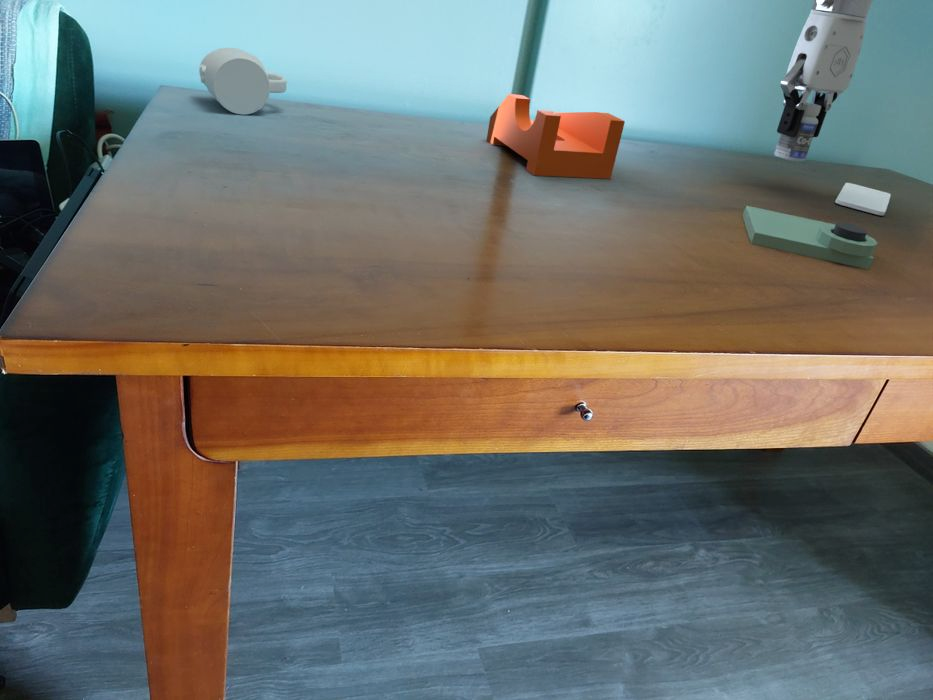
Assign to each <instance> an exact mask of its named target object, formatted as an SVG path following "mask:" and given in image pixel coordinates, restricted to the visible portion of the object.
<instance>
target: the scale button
mask: <svg viewBox="0 0 933 700" xmlns="http://www.w3.org/2000/svg"><path fill="white" fill-rule="evenodd" d="M832 233H833V234H835V235H837V236H839V237H842V238H844V239H848V240H852V241H857V242H863V241H864V239H865V237H866V235H867V234H868V230H867V229H865V228H864V227H862V226H859V225H856V224H853V223H850V222H844V221H843V222H842V221H838V222H836V223H835V228H834V230H833V232H832Z"/></svg>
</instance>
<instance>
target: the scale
mask: <svg viewBox="0 0 933 700" xmlns="http://www.w3.org/2000/svg"><path fill="white" fill-rule="evenodd" d="M742 219H743V223H744V225H745V229H746V231H747V235H748V238H749V242H750V244H751V245H756V246H760V247H765V248H769V249H774V250H778V251H783V252H786V253H791V254H796V255H800V256H801V255H802V256H806V257H809V258H814V259H819V260H823V261H827V262H832V263H837V264H842V265H845V266H846V265H847V266H850V267H855V268H860V269H864V270H870V268H871V266H872V263H873V261H874V259H875V257H874V256H873V255H874V253H875V251H876V249H877V246H878V242H877V240H875V238H874V237H871V236H869V235H867V234H866V237H865V239H864V241H863V242H857V241H852V240H848V239H844V238H842V237H839V236H837V235H835V234H833V233H832V232H833V230H834V228H835V225H836V223H835V224H834V223H830V222H824V221H822V220H821V221H820V220H817V219H816V220H815V219H810V218H807V217H801V216H798V215H791V214H787V213H783V212H778V211H773V210H769V209H764V208H759V207H754V206H750V205H745V208H744V211H743V214H742Z"/></svg>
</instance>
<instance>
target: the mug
mask: <svg viewBox="0 0 933 700" xmlns="http://www.w3.org/2000/svg"><path fill="white" fill-rule="evenodd" d="M198 73H199V77H200V83H201V84H203V85H204V86H205V87H206V89H207V90H208V92H209V94H210V95H211V96H212V97H213V98H214V99H215V100H216V101H217V102H218V103H219V105H221V106H222V107H223V108H224V109H225V110H227V111H229V112H230V113H233V114H236V115H244V116H245V115H250V114H254V113H256V112H258V111H259V110H261V109H262V108H263V107H264V106H265V104H266V103H267V101H268V99H269V97H270V94H283V93H285V92H286V91H287V83H288V82H287V78H286V77H285V76H283V75H281V74H279V73H275V72H270V71H266V69H265V67H264V65H263V63H262V61H261V60H260V59H259V58H258V57H257V56H255V55H253V54H252V53H249V52H247V51H245V50H243V49H240V48H235V47H222V48H217V49H214V50H212V51H210V52H209V53H207V54H206V55H205V56H204V57H203V58H202V60H201V61H200V65H199V72H198Z"/></svg>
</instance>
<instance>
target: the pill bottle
mask: <svg viewBox="0 0 933 700" xmlns="http://www.w3.org/2000/svg"><path fill="white" fill-rule="evenodd" d="M820 109H821V106H820V105H817V104H812V103H811V102H807V101H806V102H805V104H804V106H803V108H802V109H801V110H804V114H803V117H802V120H801V123H800V126H799V129H798V132H797V135H796V136H795V137H790V136H787V135H783V134H780V133H779V137H778V139H777V140H778V141H777V143H776V146H775V149H774V151H773V153H774V154H773V155H774V156H775V157H777V158H779V159H783V160H786V161H791V162H800V163H801V162H805V160H806V158H807V156H808V153H809V150H810V147H811V144H812V142H813V138H814V137H813V136H814V133H815V130H816V128H817V125H818V119H817V118H816V116H818V114H819V112H820Z"/></svg>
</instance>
